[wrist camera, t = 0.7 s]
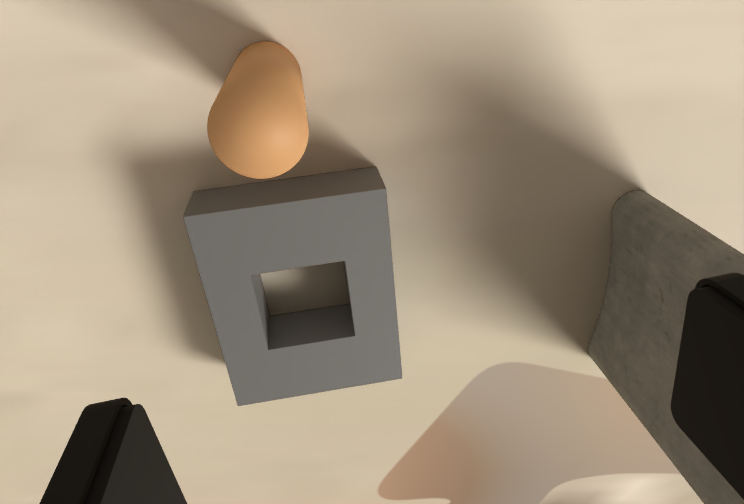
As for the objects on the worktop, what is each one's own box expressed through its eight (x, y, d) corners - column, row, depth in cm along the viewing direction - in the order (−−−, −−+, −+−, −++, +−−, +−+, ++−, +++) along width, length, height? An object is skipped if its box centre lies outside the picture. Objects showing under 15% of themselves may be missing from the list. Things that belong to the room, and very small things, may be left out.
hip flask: (614, 192, 39) (878, 375, 22) (666, 186, 40) (966, 362, 22) (585, 362, 47) (762, 598, 29) (629, 356, 47) (830, 585, 30)
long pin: (226, 45, 31) (196, 87, 21) (295, 37, 31) (300, 74, 21) (241, 114, 33) (220, 184, 22) (306, 106, 33) (315, 171, 23)
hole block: (193, 191, 35) (183, 216, 31) (376, 166, 36) (386, 188, 32) (241, 369, 42) (237, 406, 39) (392, 344, 43) (402, 378, 39)
